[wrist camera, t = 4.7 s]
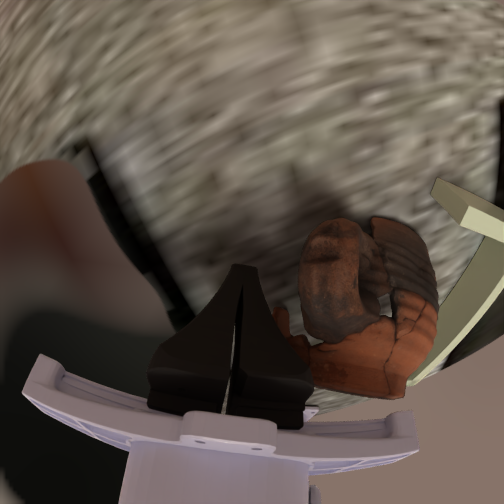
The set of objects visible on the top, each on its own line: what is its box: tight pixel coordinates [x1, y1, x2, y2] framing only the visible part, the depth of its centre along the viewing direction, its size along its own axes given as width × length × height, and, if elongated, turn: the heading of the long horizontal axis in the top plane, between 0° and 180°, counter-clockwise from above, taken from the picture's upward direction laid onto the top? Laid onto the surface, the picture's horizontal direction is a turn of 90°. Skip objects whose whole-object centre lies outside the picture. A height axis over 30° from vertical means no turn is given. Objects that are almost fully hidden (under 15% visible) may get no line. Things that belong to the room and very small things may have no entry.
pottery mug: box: [272, 217, 439, 400], centre depth 13 cm, size 12×10×8 cm
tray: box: [406, 178, 504, 386], centre depth 14 cm, size 15×7×3 cm, turn 171°
